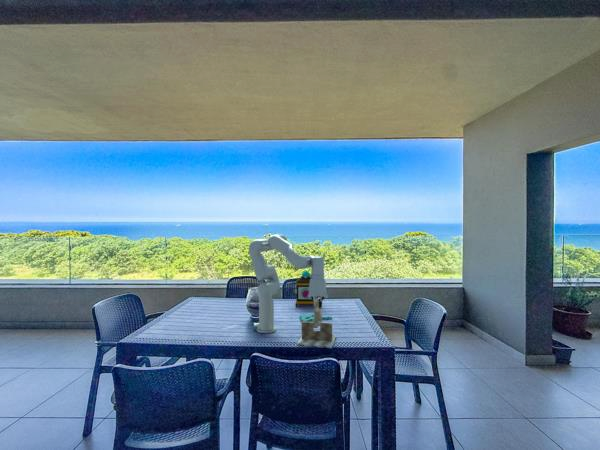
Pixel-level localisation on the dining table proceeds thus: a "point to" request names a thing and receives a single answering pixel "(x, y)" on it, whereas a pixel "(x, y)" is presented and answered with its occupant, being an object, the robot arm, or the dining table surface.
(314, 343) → the cross base
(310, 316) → the alien figure
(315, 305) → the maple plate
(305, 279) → the decorative lantern
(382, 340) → the dining table surface
